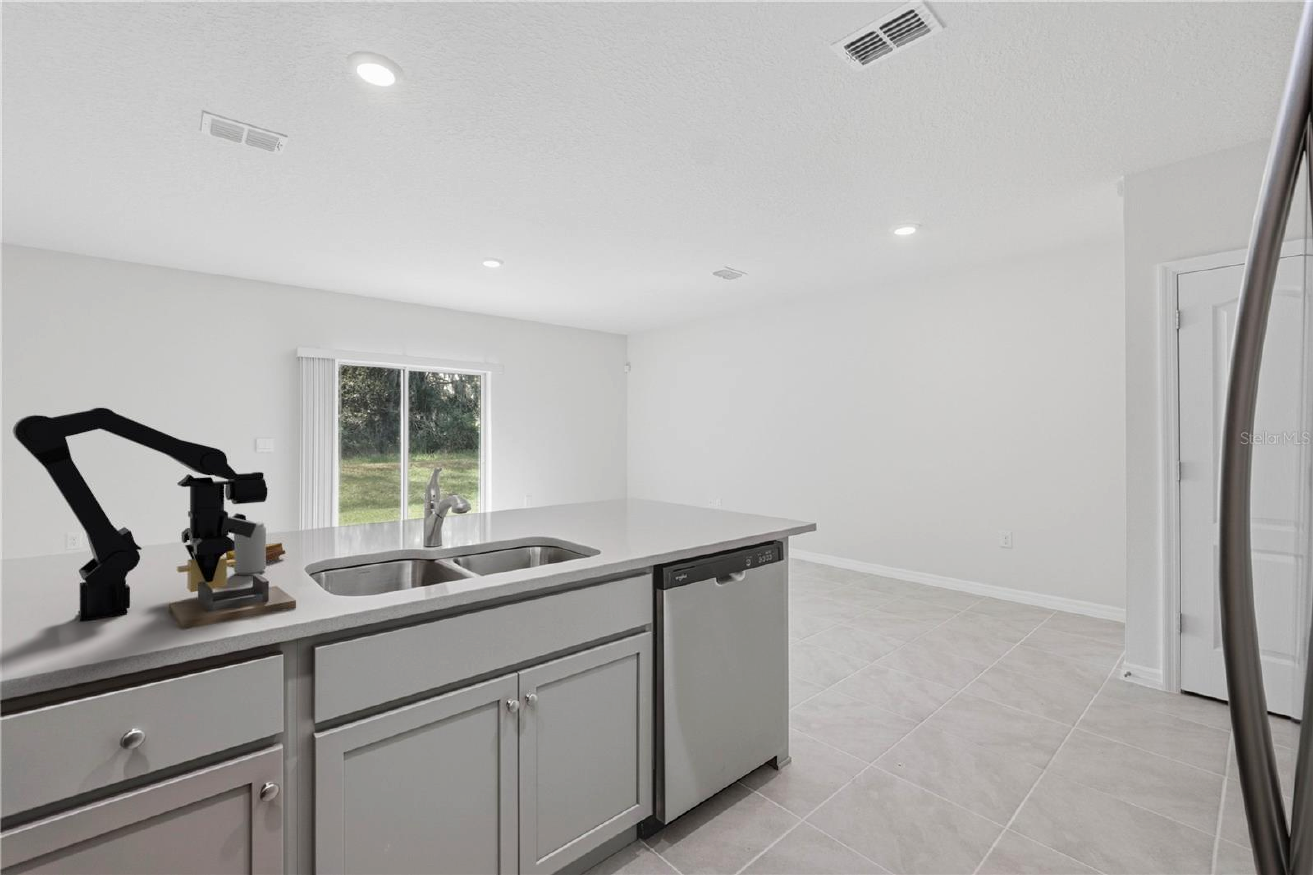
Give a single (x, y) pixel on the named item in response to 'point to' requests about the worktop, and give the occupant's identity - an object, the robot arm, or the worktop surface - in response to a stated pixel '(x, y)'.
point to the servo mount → (230, 604)
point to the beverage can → (250, 552)
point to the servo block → (197, 576)
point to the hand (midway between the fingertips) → (207, 580)
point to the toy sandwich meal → (271, 552)
